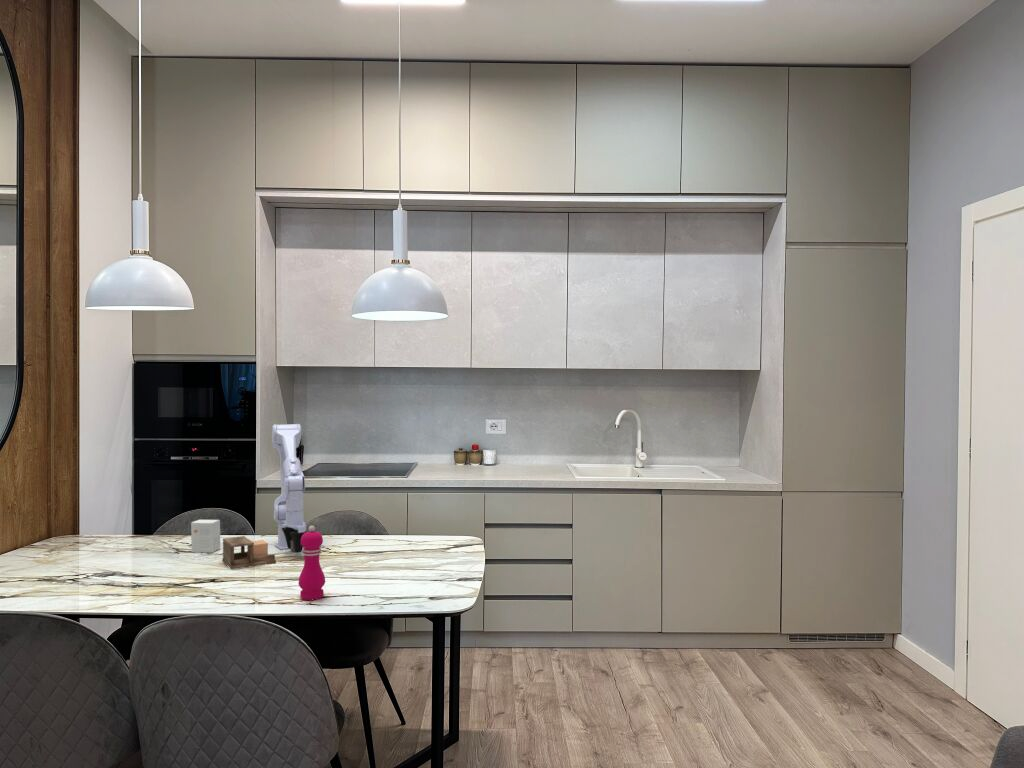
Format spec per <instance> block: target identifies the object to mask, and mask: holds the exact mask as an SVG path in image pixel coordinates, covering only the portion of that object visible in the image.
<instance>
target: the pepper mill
mask: <svg viewBox="0 0 1024 768" xmlns="http://www.w3.org/2000/svg"><path fill="white" fill-rule="evenodd" d="M323 542H324V539H323V535H322V534H321V533H320V532H319V531H316V527H315V526H314V525H310V526H308V531H307V532H306V533H304V534H303V535H302V537H301V545H302V546H303V549H302V555H303V557H304V558H303V559H304V563H303V568H302V570H301V572H300V575H299V577H298V586H299V588H300V589H301V590H300V596H299V597H301V598H302V599H301V598H300V599H301V600H303V599H306V600H305V601H313V600H312V599H317V600H319V599H318V598H320V599H322V598H323V597H324V596H323V595H324V593H325V592H324V588H323V587H324V585H325V584H326V576H325V573H324V571H323V568H322V567H321V564H320V555H321V554H322V548H321V546H322V545H323ZM321 597H322V598H321Z"/></svg>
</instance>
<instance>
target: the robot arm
mask: <svg viewBox="0 0 1024 768" xmlns="http://www.w3.org/2000/svg"><path fill="white" fill-rule="evenodd" d="M271 439H272V440H271V441H272V442H271V443H272V448H273V449H275V450H277V452H278V454H279V467H280V468H279V470H280V473H279V474H280V488H281V489H280V491H281V492H280V493H281V494H280V495H279V496H278V497H277V498H275V499H274V502H273V520H274V521H275V522H277V543H274V547H276V548H278V549H279V550H287V549H288V548H289V549H291V540H293V543H294V550H295V553H294V554H298V553H303V549H304V548H303V546H302V545H301V537H302V535H303V534H304V533H306V532H308V531H307V525H306V521H304V492H305V489H306V479H305V475H304V472H303V471H302V467H301V466H302V464H301V461H300V459H299V458H298V457H297V448H299V445H300V442H301V440H302V426H301V424H300V423H293V424H291V423H290V424H275V423H274V424H273V425H272V426H271Z"/></svg>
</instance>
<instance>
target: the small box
mask: <svg viewBox="0 0 1024 768" xmlns="http://www.w3.org/2000/svg"><path fill="white" fill-rule="evenodd" d="M190 525H191V526H190V528H191V529H190V530H191V531H190V534H191V537H190V538H191V553H207V552H213V553H215V552H217V551H219V550H221V520H220V519H197V520H194V521H192V522H191V523H190ZM218 549H219V550H218ZM216 550H217V551H216ZM214 551H215V552H214Z"/></svg>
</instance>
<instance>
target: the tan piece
mask: <svg viewBox="0 0 1024 768" xmlns="http://www.w3.org/2000/svg"><path fill="white" fill-rule="evenodd" d="M251 541H252V542H254V545H253V555H254V557H258V556H265V555H273V554H274V555H275V556H277V555H286V554H291V553H292V554H296V553H295V550H294V543H293V540H291V548H290V550H286V551H281V552H280V551H279V552H272V553H269V548H268V547H269V544H268V542H267V541H265V540H264V539H260V540H258V539H257V540H251ZM246 547H247V548H246V549H247V551H246V552H247V557H249V558H250V545H247V546H246Z"/></svg>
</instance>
